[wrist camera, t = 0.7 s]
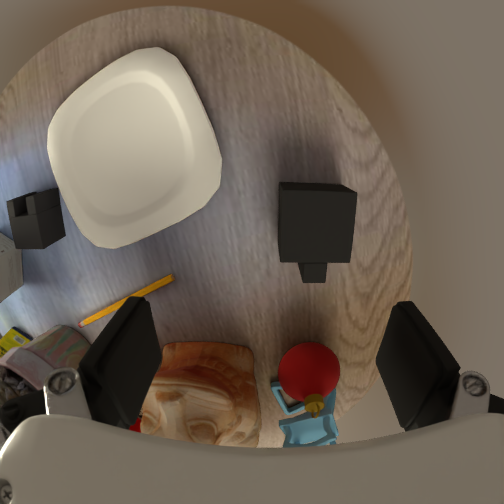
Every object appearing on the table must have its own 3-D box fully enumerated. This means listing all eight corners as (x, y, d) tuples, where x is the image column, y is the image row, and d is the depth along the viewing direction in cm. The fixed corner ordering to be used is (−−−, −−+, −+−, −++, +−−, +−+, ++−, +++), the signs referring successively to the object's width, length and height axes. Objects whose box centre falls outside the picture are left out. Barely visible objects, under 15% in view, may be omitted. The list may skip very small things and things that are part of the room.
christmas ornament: (320, 374, 33) (331, 435, 24) (269, 366, 33) (270, 430, 23) (343, 335, 30) (364, 398, 21) (288, 324, 30) (295, 392, 21)
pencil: (79, 321, 32) (77, 324, 32) (171, 272, 28) (169, 275, 28) (82, 326, 32) (80, 328, 32) (175, 278, 29) (173, 281, 28)
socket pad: (29, 192, 25) (6, 201, 21) (58, 187, 25) (33, 195, 21) (37, 236, 28) (15, 249, 23) (66, 235, 27) (43, 249, 23)
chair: (338, 397, 35) (352, 464, 24) (285, 411, 36) (288, 477, 25) (329, 366, 32) (346, 442, 21) (269, 382, 34) (269, 458, 23)
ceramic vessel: (259, 311, 29) (254, 429, 16) (263, 432, 39) (260, 507, 25) (143, 308, 30) (84, 402, 16) (185, 427, 40) (168, 496, 26)
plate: (45, 125, 22) (36, 125, 21) (172, 33, 19) (167, 27, 17) (100, 258, 28) (93, 264, 26) (243, 192, 25) (242, 195, 23)
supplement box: (13, 325, 35) (-18, 357, 24) (33, 338, 35) (1, 374, 25) (20, 346, 37) (-8, 378, 27) (39, 359, 37) (12, 394, 27)
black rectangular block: (278, 182, 24) (282, 189, 20) (342, 184, 24) (357, 192, 20) (277, 261, 27) (279, 283, 23) (335, 262, 27) (347, 282, 23)
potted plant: (16, 303, 32) (-68, 390, 9) (88, 298, 30) (-25, 441, 7) (61, 380, 39) (7, 471, 16) (138, 392, 37) (88, 521, 14)
